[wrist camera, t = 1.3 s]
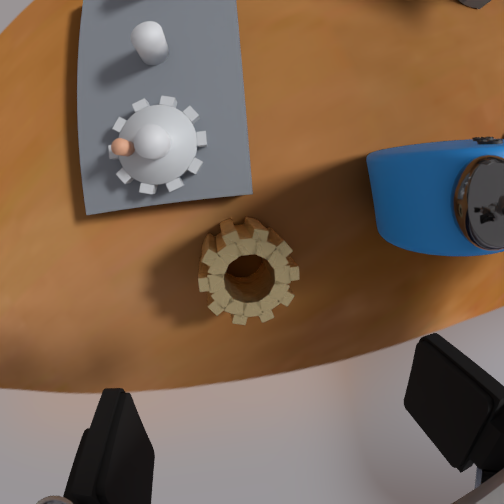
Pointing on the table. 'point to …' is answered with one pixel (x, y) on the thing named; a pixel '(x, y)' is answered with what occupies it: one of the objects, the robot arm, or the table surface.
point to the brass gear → (256, 285)
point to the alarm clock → (441, 196)
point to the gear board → (160, 103)
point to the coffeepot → (474, 3)
